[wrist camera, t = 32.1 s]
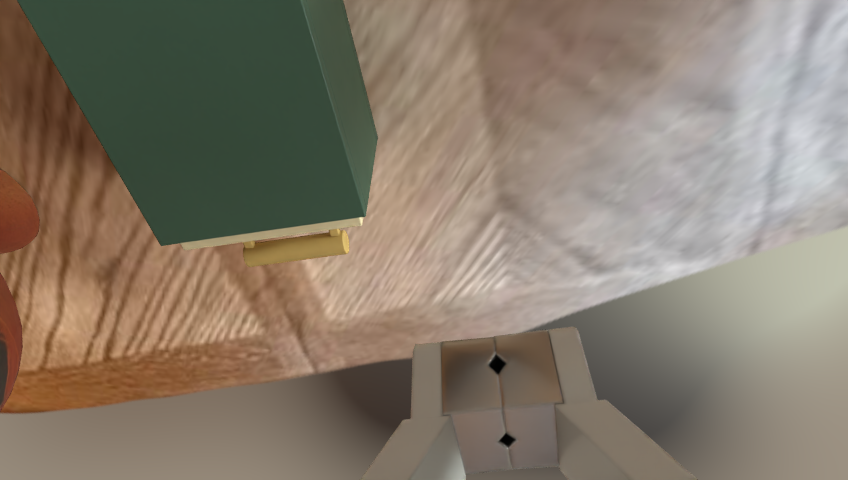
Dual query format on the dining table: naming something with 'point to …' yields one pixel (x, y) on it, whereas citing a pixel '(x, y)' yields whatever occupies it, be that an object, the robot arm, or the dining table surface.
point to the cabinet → (220, 108)
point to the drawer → (287, 243)
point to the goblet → (4, 232)
